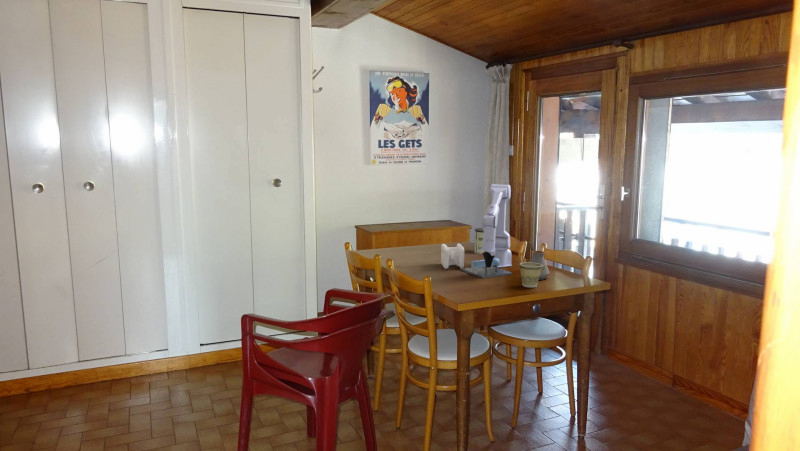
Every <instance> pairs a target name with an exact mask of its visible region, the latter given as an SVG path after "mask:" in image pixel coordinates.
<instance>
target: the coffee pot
mask: <svg viewBox="0 0 800 451" xmlns="http://www.w3.org/2000/svg"><path fill="white" fill-rule="evenodd" d="M526 245H528V246H529V247H530V250H531V253H532V257H531V258H530V260H529V262H533V263H539V264H541V265H544V266H545V270H544V271H543V272H542V273H541V274H540V275H539V280H541V281H542V280H545V279H546V278H547V277H548V276H549V275H550V270H549V267H548V264H547V262H546V260H545V255H546V251H542V250H535V249H534V247H533V244H532V242H530V241H529V242H527V244H526ZM544 266H542V269H541V271H542V270H543V269H544ZM539 280H538V281H539Z"/></svg>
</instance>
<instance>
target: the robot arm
mask: <svg viewBox="0 0 800 451" xmlns="http://www.w3.org/2000/svg"><path fill="white" fill-rule="evenodd" d="M511 188H512V187H511V185H510V184H495V183H492V184H491V185H490V187H489V195H490V196H491V203H490V204H489V205H488V206H487V209H486V211H485V215H483V216H482V228H483V230H484V236H483V248H482V249H481V250H482V251H486V252H483V253H482V254H481V255H482V256H483V260H485V265H486V267H487V268H491V265H492V261H493V259H494V258H498V259H499V265H498V266H497V268H506V267H512V266H513V265H512V251H511V249H510V248H511V234H510V233H508V231H506V218H507V217H506V216H507V215H506V213H507V201H509V200H511V192H512V189H511Z"/></svg>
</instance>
